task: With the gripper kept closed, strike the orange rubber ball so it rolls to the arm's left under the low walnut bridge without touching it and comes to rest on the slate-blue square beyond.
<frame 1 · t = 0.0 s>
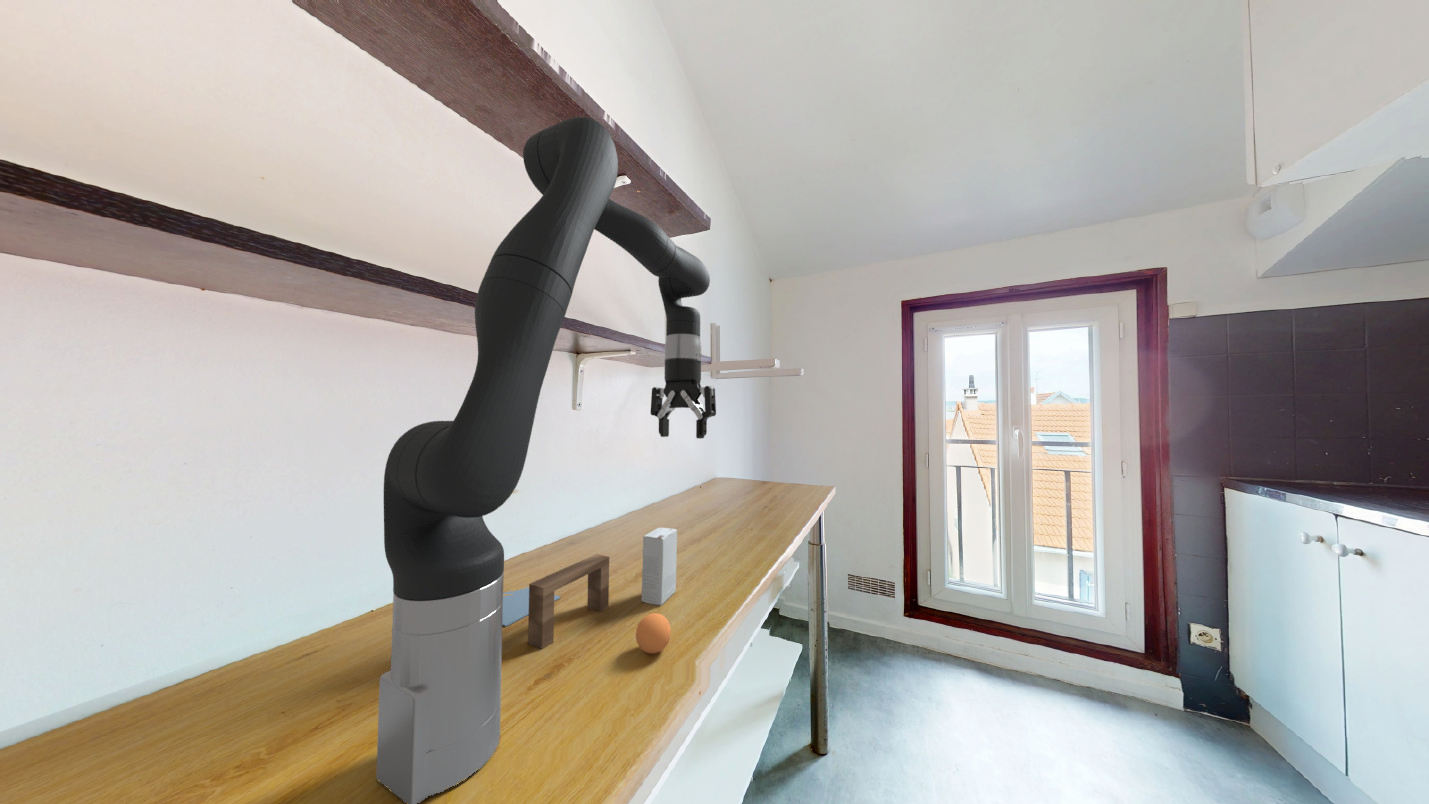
hand: (682, 437, 80), 29 cm above the table, tool pointing down, fingers open, 8 cm apart
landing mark: (513, 604, 70), on the table
skincare box: (659, 598, 73), on the table
bridge: (571, 623, 63), on the table
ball: (653, 633, 56), on the table
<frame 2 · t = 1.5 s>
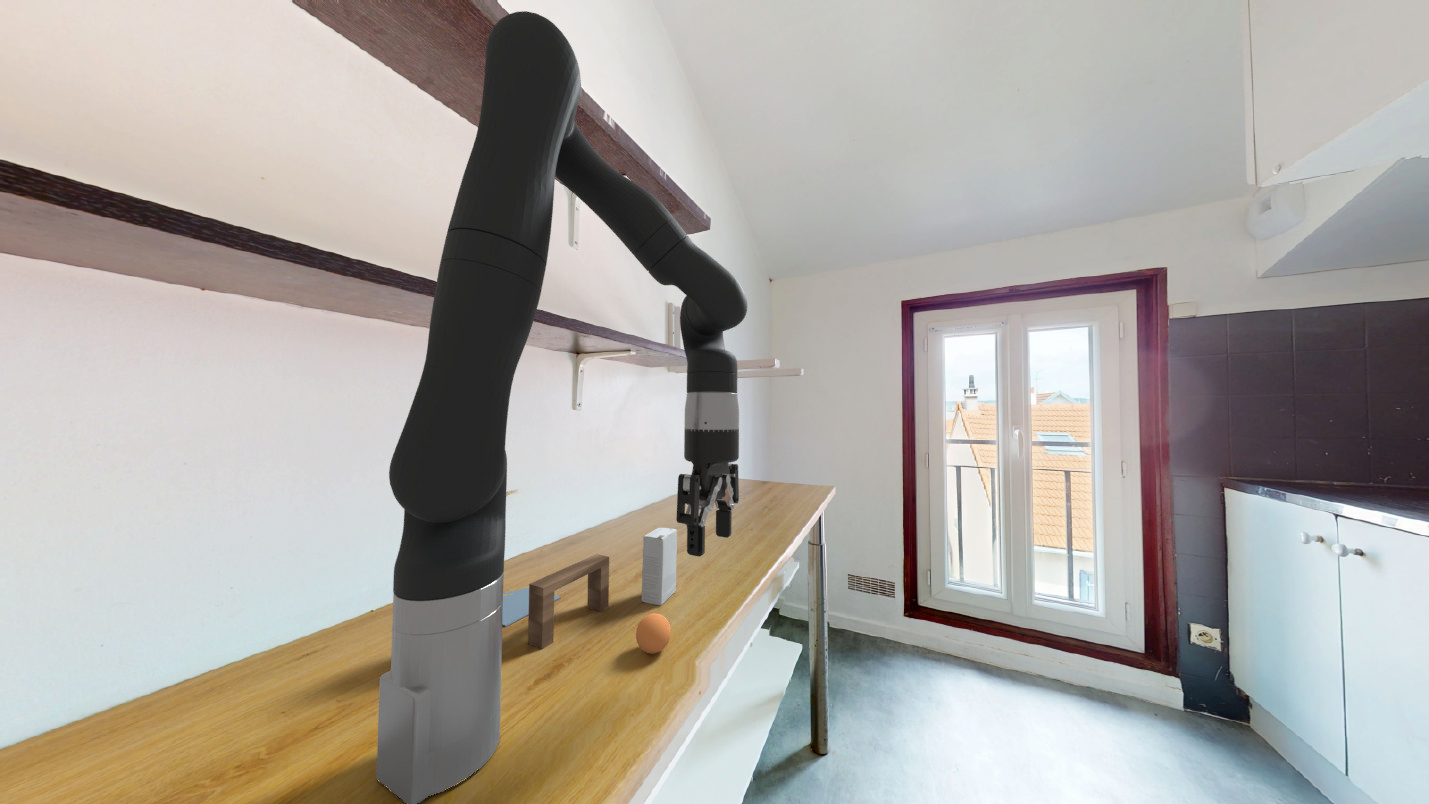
hand: (710, 544, 53), 16 cm above the table, tool pointing down, fingers open, 8 cm apart
nothing on the table moved.
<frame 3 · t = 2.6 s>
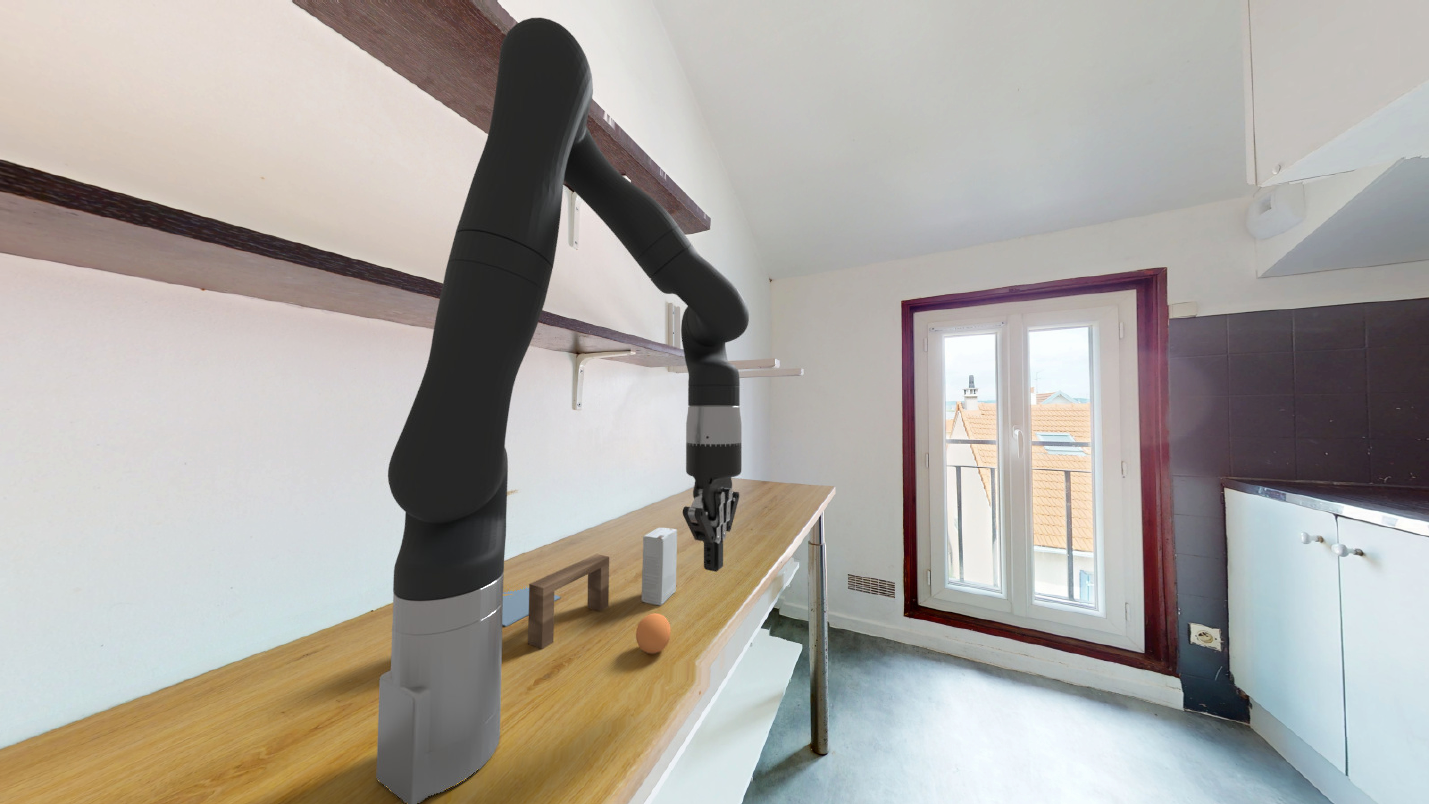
hand: (713, 568, 53), 13 cm above the table, tool pointing down, fingers closed
nothing on the table moved.
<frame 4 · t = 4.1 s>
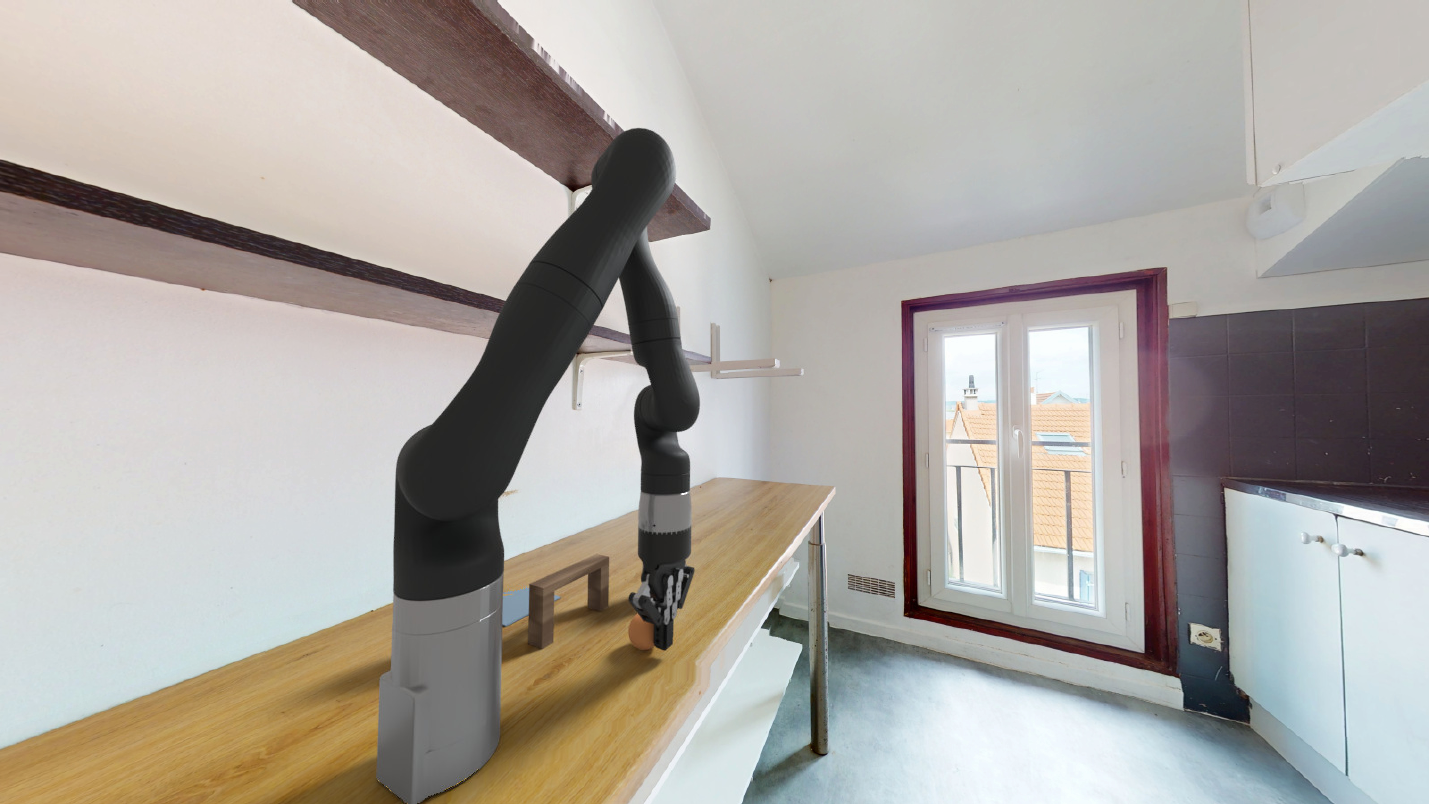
hand: (663, 646, 55), 1 cm above the table, tool pointing down, fingers closed
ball: (645, 629, 57), on the table
everything else where it was.
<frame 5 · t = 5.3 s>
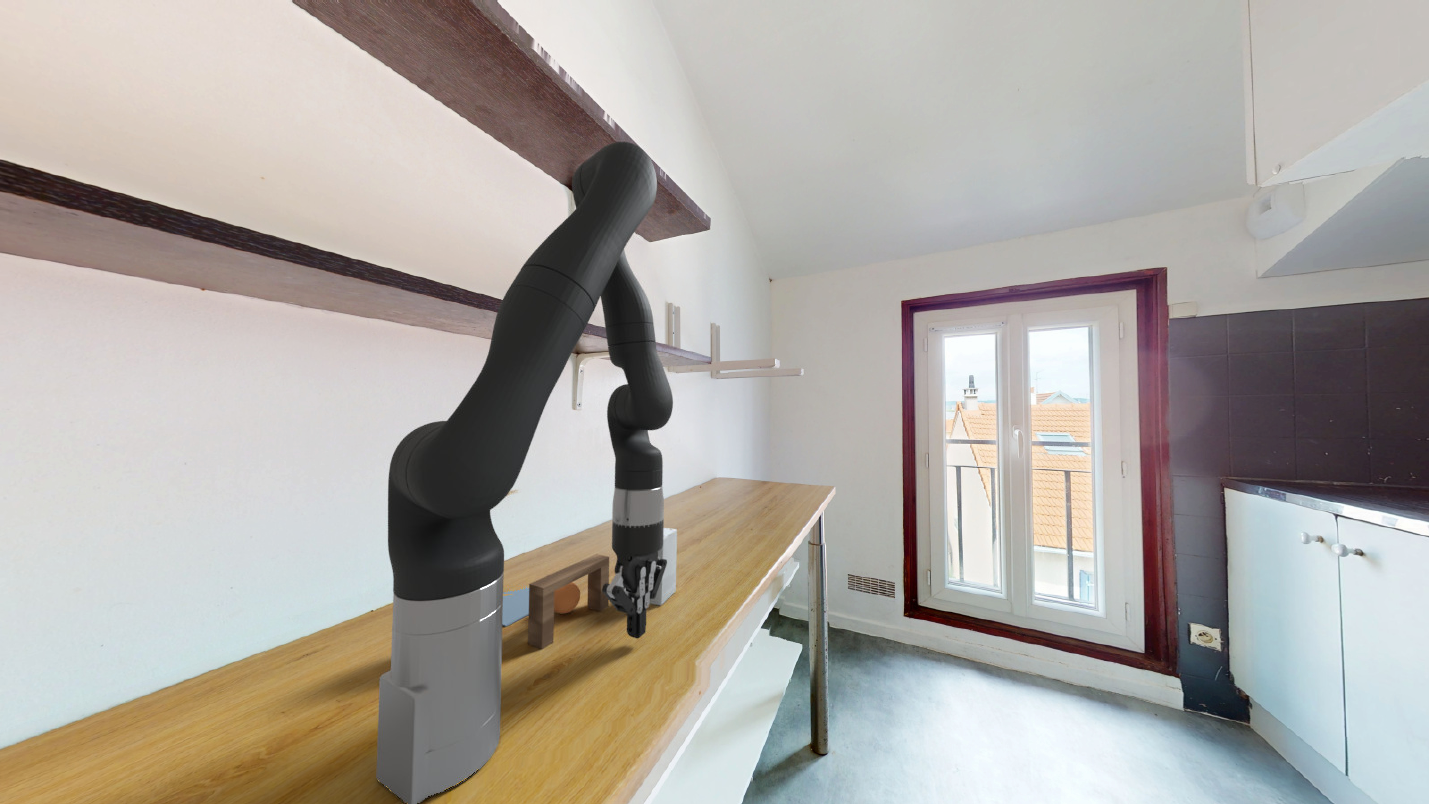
hand: (636, 634, 58), 2 cm above the table, tool pointing down, fingers closed
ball: (564, 597, 67), on the table
everything else where it was.
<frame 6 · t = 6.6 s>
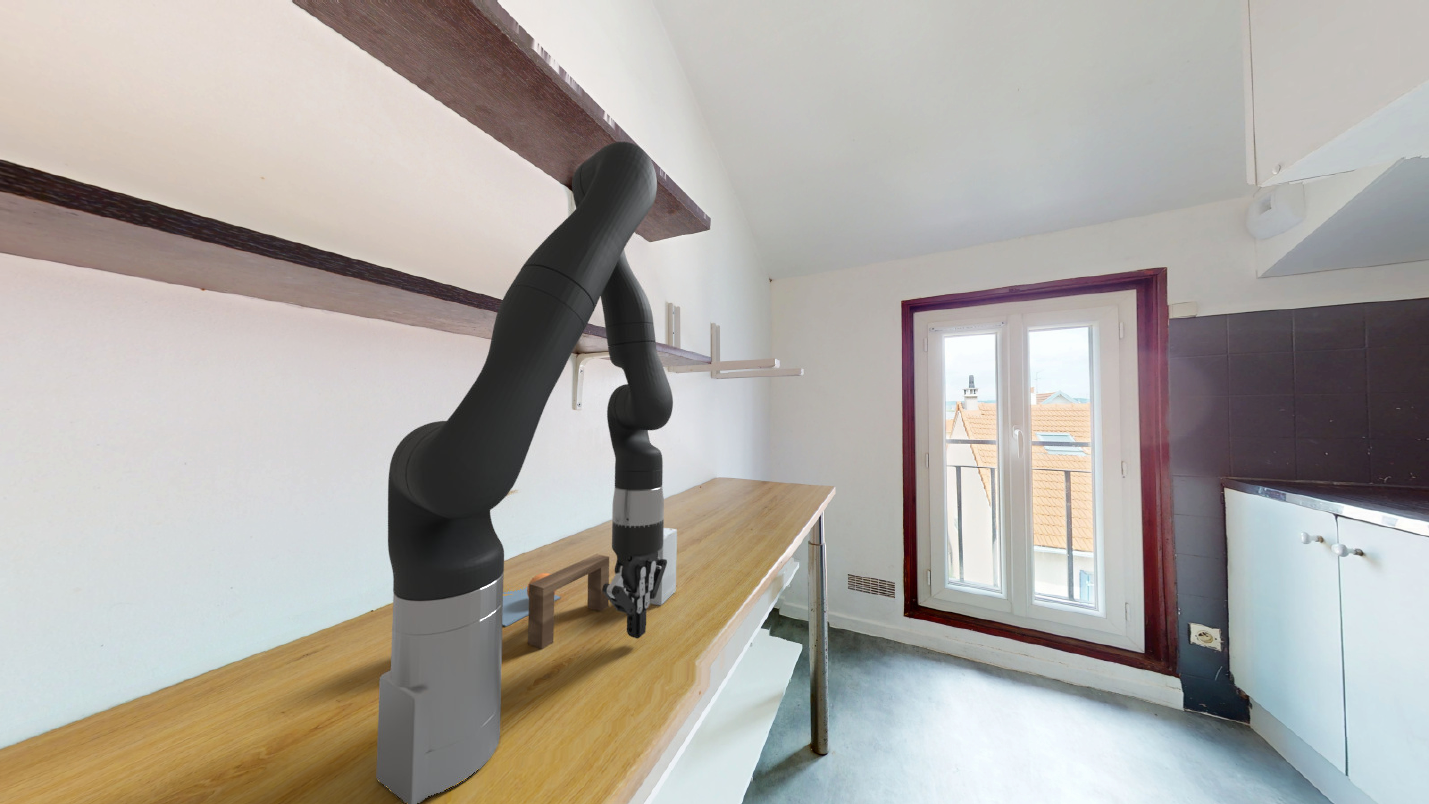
hand: (636, 634, 58), 2 cm above the table, tool pointing down, fingers closed
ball: (542, 588, 70), on the table
everything else where it was.
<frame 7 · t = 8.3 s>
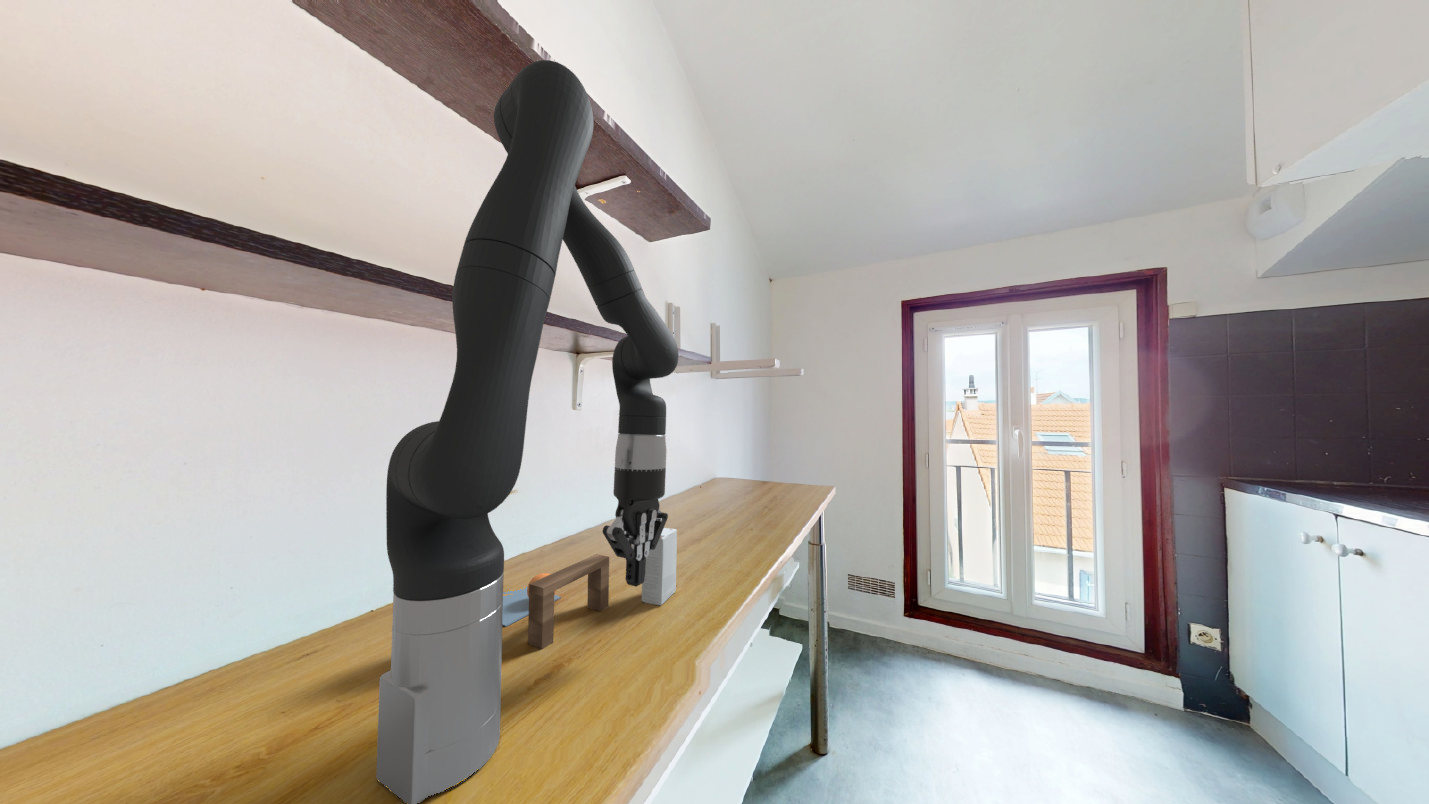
hand: (635, 583, 57), 9 cm above the table, tool pointing down, fingers closed
nothing on the table moved.
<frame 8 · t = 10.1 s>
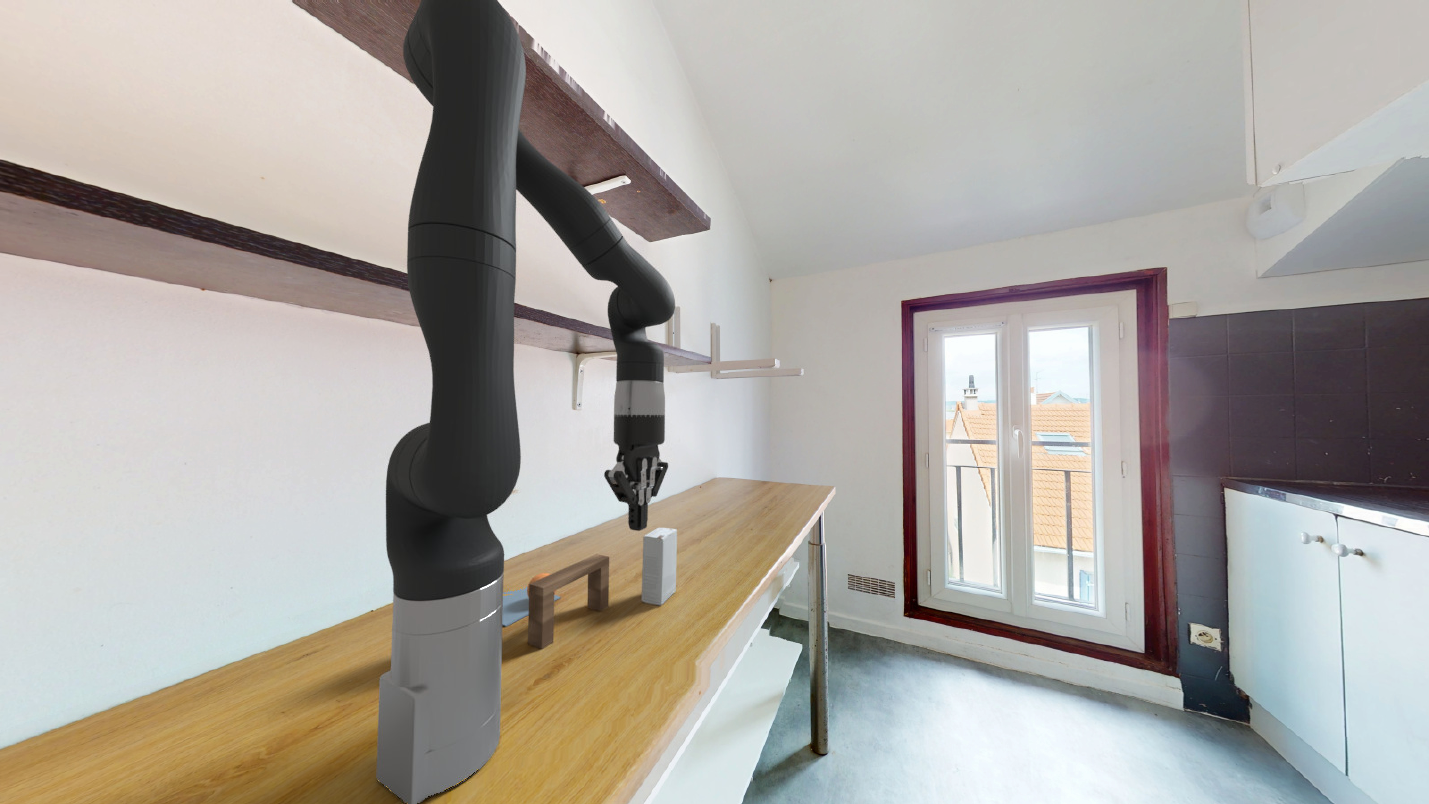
hand: (638, 528, 58), 17 cm above the table, tool pointing down, fingers closed
nothing on the table moved.
at the end: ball 4.7 cm from the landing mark (horizontally); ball never touched bridge; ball at rest at the end (0.0 cm/s) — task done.
